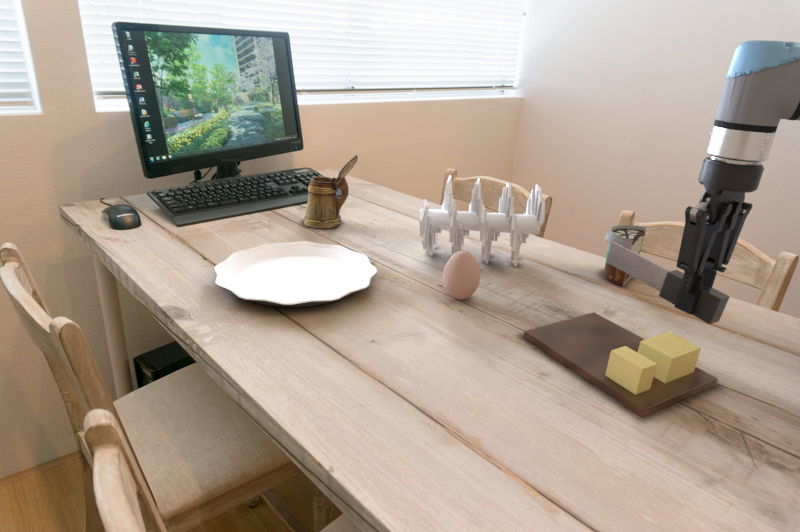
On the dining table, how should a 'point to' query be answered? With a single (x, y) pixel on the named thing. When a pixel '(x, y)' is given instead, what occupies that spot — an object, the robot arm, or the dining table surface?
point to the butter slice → (630, 370)
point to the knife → (667, 282)
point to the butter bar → (670, 356)
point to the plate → (295, 273)
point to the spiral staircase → (482, 220)
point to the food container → (627, 238)
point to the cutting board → (589, 354)
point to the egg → (461, 275)
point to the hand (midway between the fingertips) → (689, 308)
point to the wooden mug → (327, 198)
